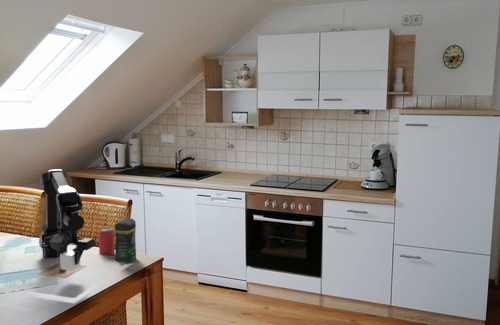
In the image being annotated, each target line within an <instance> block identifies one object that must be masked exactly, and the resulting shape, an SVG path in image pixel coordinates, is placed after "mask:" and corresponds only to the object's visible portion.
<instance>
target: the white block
mask: <svg viewBox="0 0 500 325" xmlns="http://www.w3.org/2000/svg"><path fill="white" fill-rule="evenodd" d="M59 258H60V261H59V262H60V264H61V269H64V270H71V271H72V270H74V269H76V268H78V267H79V266H80V265H81V259H80V260H79V263H78V264H77V265H75V254H74V251H73V249H67V251H66V252H64V253H62V254H60V256H59Z"/></svg>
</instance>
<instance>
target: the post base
mask: <svg viewBox="0 0 500 325" xmlns="http://www.w3.org/2000/svg"><path fill="white" fill-rule="evenodd" d="M86 267H87V265H83V264H82V265H81V264H80V266H79V267H78V268H76V269H74V270H72V271H71V270H64V269H61V264H60V261H59V262H57V263H56V264H54V265H52V266H50V267H48V268H46V269H44V270H43V271H40V272H38V275H41V276H42V275H43V276H48V277H49V276H50V277H55V278H63V279H66V278H68V277H71V276H72V275H75V273H77V272H79V271H80V270H82V269H83V268H84V269H85V268H86Z"/></svg>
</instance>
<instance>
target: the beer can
mask: <svg viewBox="0 0 500 325" xmlns="http://www.w3.org/2000/svg"><path fill="white" fill-rule="evenodd" d="M98 245H99V246H98V248H99V252H98V253H99V255H102V256H108V257H109V256H110V257H113V256H115V231H114V228H112V227H103V228H101V229H99V232H98Z"/></svg>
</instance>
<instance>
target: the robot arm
mask: <svg viewBox="0 0 500 325" xmlns="http://www.w3.org/2000/svg"><path fill="white" fill-rule="evenodd" d="M39 184H40V186H41V188H42V189H43V191H44V193H45V224H44V226H42V228H41V234H40V235H39V240H38V244H39V248H41V249H42V257H44V258H45V259H57V258H60V254H62V253H64V252H66V251H68V247H69V246H70V245H71V246H75V247H74V248H72V250H73V251H74V254H75V265H77V264H78V263H79V260H80V261H81V259H82V258H81V257H82V255H83V253H84V252H85V251H88V250H90V249H92V248H94V247H95V246H96V240H95V239H94V238H87V237H85V238H83V239H81V240H79V239H80V238H81V235H79V234H78V231H79V230H81V229H82V228H83V227H84V226H85V219H84V217H83V216H82V215H80V214H79V211H82V210H83V206H84V205H83V202H82V198H81V196H80V194H79V192H77V190H76V189H75V188H74V187H71V186H69V183H68V182H67V180H66V178H65V176H64V172H63V169H60V168H59V169H58V168H57V169H50V170H48V171H47V172H44V173H42V174H41V175H40V176H39ZM58 212H59V214H60V215H59V216H60V218H59V219H60V227H59V226H58Z"/></svg>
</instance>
